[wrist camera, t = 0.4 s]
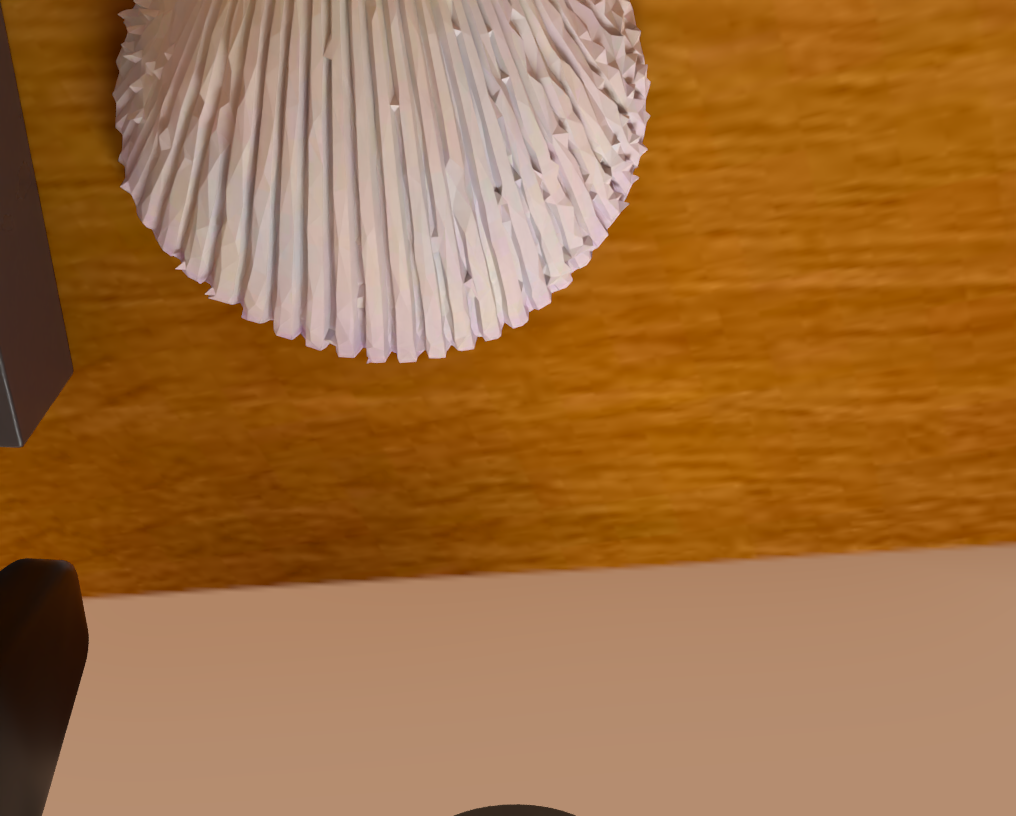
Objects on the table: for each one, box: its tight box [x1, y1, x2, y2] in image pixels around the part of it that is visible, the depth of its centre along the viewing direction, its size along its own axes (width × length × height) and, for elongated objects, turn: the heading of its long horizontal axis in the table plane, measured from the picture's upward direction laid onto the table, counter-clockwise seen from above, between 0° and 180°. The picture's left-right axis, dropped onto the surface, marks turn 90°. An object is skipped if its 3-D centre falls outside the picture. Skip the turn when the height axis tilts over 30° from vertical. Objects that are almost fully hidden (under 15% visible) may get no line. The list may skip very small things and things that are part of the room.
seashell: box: [112, 0, 651, 363], centre depth 18 cm, size 10×6×10 cm
